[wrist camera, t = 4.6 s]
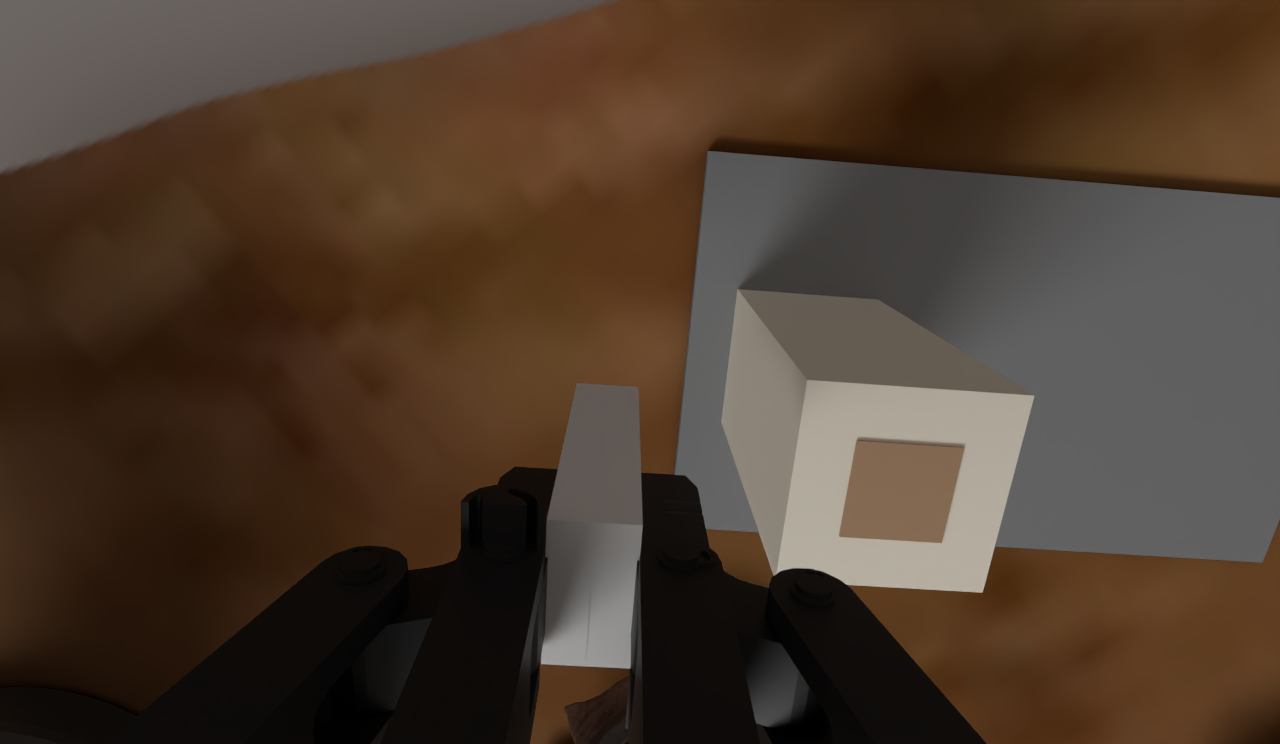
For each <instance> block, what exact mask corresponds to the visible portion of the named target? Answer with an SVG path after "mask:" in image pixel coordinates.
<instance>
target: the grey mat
mask: <svg viewBox="0 0 1280 744" xmlns="http://www.w3.org/2000/svg"><path fill="white" fill-rule="evenodd" d="M737 289H742V290H756V291H769V292H783V293H796V294H810V295H823V296H837V297H850V298H864V299H877V300H880V301H881V302H883V303H885V304H886V305H888V306H890V307H891V308H893V309H894V310H896V311H898V312H899V313H901V314H903V315H904V316H906V317H907V318H909V319H911V320H912V321H914V322H916V323H917V324H919V325H920V326H922V327H924V328H925V329H927V330H929V331H930V332H932V333H933V334H935V335H937V336H938V337H940V338H942V339H943V340H945V341H946V342H948V343H950V344H951V345H953V346H955V347H956V348H958V349H959V350H961V351H963V352H964V353H966V354H968V355H969V356H971V357H972V358H974V359H976V360H977V361H979V362H981V363H982V364H984V365H985V366H987V367H989V368H990V369H992V370H994V371H995V372H997V373H999V374H1000V375H1002V376H1003V377H1005V378H1007V379H1008V380H1010V381H1012V382H1013V383H1015V384H1016V385H1018V386H1020V387H1021V388H1023V389H1025V390H1026V391H1028V392H1029V393H1031V394H1033V395H1034V400H1033V404H1032V407H1031V411H1030V415H1029V419H1028V423H1027V426H1026V430H1025V434H1024V438H1023V442H1022V445H1021V449H1020V453H1019V457H1018V460H1017V464H1016V468H1015V472H1014V476H1013V479H1012V483H1011V487H1010V491H1009V495H1008V498H1007V502H1006V506H1005V510H1004V513H1003V517H1002V521H1001V525H1000V529H999V532H998V536H997V540H996V544H995V546H997V547H1013V548H1030V549H1047V550H1063V551H1080V552H1096V553H1113V554H1130V555H1146V556H1163V557H1179V558H1196V559H1213V560H1229V561H1246V562H1262V563H1263V560H1264V558H1265V555H1266V553H1267V550H1268V548H1269V545H1270V543H1271V540H1272V538H1273V535H1274V532H1275V530H1276V527H1277V525H1278V522H1279V520H1280V198H1275V197H1263V196H1251V195H1238V194H1226V193H1214V192H1202V191H1190V190H1178V189H1165V188H1153V187H1141V186H1129V185H1117V184H1105V183H1093V182H1080V181H1068V180H1056V179H1044V178H1032V177H1020V176H1007V175H995V174H983V173H971V172H959V171H947V170H935V169H922V168H910V167H898V166H886V165H874V164H862V163H849V162H837V161H825V160H813V159H801V158H789V157H777V156H764V155H752V154H740V153H728V152H716V151H707V159H706V169H705V178H704V188H703V198H702V208H701V217H700V227H699V237H698V247H697V257H696V266H695V276H694V286H693V296H692V305H691V315H690V325H689V335H688V344H687V354H686V364H685V374H684V383H683V393H682V403H681V413H680V422H679V432H678V442H677V452H676V461H675V471H674V475H685V476H686V477H687V478H688V479H689V480H690V481H691V482H692V483H693V484H694V485H695V486H696V487H697V488H698V492H699V497H700V504H701V507H702V515H703V517H704V522H705V528H706V529H714V530H731V531H748V532H759V531H758V528H757V525H756V522H755V520H754V517H753V514H752V511H751V508H750V505H749V502H748V499H747V496H746V493H745V490H744V487H743V484H742V481H741V479H740V476H739V473H738V470H737V467H736V464H735V461H734V458H733V455H732V452H731V449H730V446H729V443H728V440H727V437H726V435H725V432H724V429H723V426H722V423H721V420H722V412H723V404H724V395H725V387H726V379H727V371H728V363H729V354H730V346H731V338H732V330H733V321H734V313H735V305H736V297H737Z"/></svg>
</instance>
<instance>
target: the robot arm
mask: <svg viewBox="0 0 1280 744" xmlns="http://www.w3.org/2000/svg"><path fill="white" fill-rule="evenodd" d="M541 653H542V655H541ZM540 658H541V664H551V665H570V666H590V667H609V668H628V669H630V679H629V691H628V702H627V714H626V726H625V729H628V744H986V742H985V741H984V740H983V739H982V738H981V737H980V736H979V734H978V733H977V732H976V731H975V730H974V729H973V728H972V726H971V725H970V724H969V723H968V722H967V721H966V720H965V718H964V717H963V716H962V715H961V714H960V713H959V712H958V710H957V709H956V708H955V707H954V706H953V705H952V704H951V702H950V701H949V700H948V699H947V698H946V697H945V696H944V694H943V693H942V692H941V691H940V690H939V689H938V688H937V686H936V685H935V684H934V683H933V682H932V681H931V680H930V678H929V677H928V676H927V675H926V674H925V673H924V672H923V670H922V669H921V668H920V667H919V666H918V665H917V664H916V662H915V661H914V660H913V659H912V658H911V657H910V656H909V654H908V653H907V652H906V651H905V650H904V649H903V648H902V646H901V645H900V644H899V643H898V642H897V641H896V640H895V638H894V637H893V636H892V635H891V634H890V633H889V632H888V630H887V629H886V628H885V627H884V626H883V625H882V624H881V622H880V621H879V620H878V619H877V618H876V617H875V616H874V614H873V613H872V612H871V611H870V610H869V609H868V608H867V606H866V605H865V604H864V603H863V602H862V601H861V600H860V598H859V597H858V596H857V595H856V594H855V593H854V592H853V590H852V589H851V588H849V587H848V586H847V585H846V584H845V583H843V582H842V581H841V580H840V579H837V578H835V577H833V576H831V575H829V574H827V573H825V572H822V571H819V570H815V569H808V568H805V569H804V568H792V569H788V570H783V571H780V572H779V573H777V574H776V575H775V576H773V577H772V579H771V582H770V585H769V588H766V587H762V586H759V585H755V584H751V583H748V582H745V581H742V580H739V579H737V578H735V577H733V576H731V575H729V574H727V573H726V572H724V571H723V567H722V562H721V561H720V559H719V557H718V555H717V553H715V552H714V551H713V550H711V549H710V548H709V543H708V538H707V533H706V528H705V522H704V517H703V515H702V507H701V504H700V497H699V492H698V488H697V487H696V486H695V485H694V484H693V483H692V482H691V481H690V480H689V479H688V478H687V477H686V476H685V475H669V474H653V473H641V457H640V427H639V397H638V387H627V386H612V385H597V384H582V383H577V385H576V390H575V394H574V399H573V403H572V408H571V412H570V417H569V421H568V426H567V430H566V435H565V439H564V444H563V448H562V453H561V457H560V462H559V466H558V469H543V468H527V467H514V468H513V469H511V470H510V471H509V472H507V473H506V474H504V475H503V476H502V477H500V480H499V482H498V485H493V486H488V487H484V488H479V489H477V490H475V491H473V492H471V493H469V494H467V495H466V497H465V498H464V499H463V500H462V501H461V549H460V552H459V554H458V557H457V559H456V560H455V561H452V562H449V563H446V564H443V565H439V566H434V567H430V568H422V569H415V570H408V565H407V559H406V558H405V557H404V556H403V555H402V554H401V553H400V552H398V551H396V550H393V549H390V548H387V547H378V546H364V547H361V546H360V547H354V548H351V549H348V550H345V551H342V552H339V553H336V554H334V555H333V556H331V557H329V558H328V559H326V560H324V561H323V562H321V563H320V564H319V565H318V566H317V567H315V568H314V569H313V570H312V571H311V572H309V573H308V574H307V575H306V576H305V577H303V578H302V579H301V580H300V581H299V582H297V583H296V584H295V585H294V586H293V587H291V588H290V589H289V590H288V591H287V592H285V593H284V594H283V595H282V596H281V597H279V598H278V599H277V600H276V601H275V602H273V603H272V604H271V605H270V606H269V607H267V608H266V609H265V610H264V611H263V612H261V613H260V614H259V615H258V616H257V617H255V618H254V619H253V620H252V621H251V622H249V623H248V624H247V625H246V626H245V627H243V628H242V629H241V630H240V631H239V632H237V633H236V634H235V635H234V636H233V637H231V638H230V639H229V640H228V641H227V642H225V643H224V644H223V645H222V646H221V647H219V648H218V649H217V650H216V651H215V652H213V653H212V654H211V655H210V656H209V657H207V658H206V659H205V660H204V661H203V662H201V663H200V664H199V665H198V666H197V667H195V668H194V669H193V670H192V671H191V672H189V673H188V674H187V675H186V676H185V677H183V678H182V679H181V680H180V681H179V682H177V683H176V684H175V685H174V686H173V687H171V688H170V689H169V690H168V691H167V692H165V693H164V694H163V695H162V696H161V697H159V698H158V699H157V700H156V701H155V702H153V703H152V704H151V705H150V706H149V707H147V708H146V709H145V710H144V711H143V712H141V713H140V714H139V715H138V716H135V715H133V714H131V713H129V712H127V711H125V710H123V709H120V708H118V707H116V706H113V705H111V704H108V703H105V702H102V701H100V700H97V699H93V698H90V697H87V696H83V695H79V694H75V693H71V692H66V691H61V690H54V689H47V688H37V687H0V744H530V739H531V733H532V727H533V721H534V715H535V708H536V702H537V696H538V690H539V675H540Z"/></svg>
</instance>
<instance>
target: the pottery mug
mask: <svg viewBox="0 0 1280 744" xmlns="http://www.w3.org/2000/svg"><path fill="white" fill-rule="evenodd" d="M629 679H630V676H628V677H626V678H624V679H623V680H621V681H619V682H617V683H616V684H615V685H614V686H612V687H611V688H610V689H608V690H606V691H605V692H604V693H602V694H601V695H599V696H597V697H595V698H592V699H590V700H587V701H585V702H577V703H573V704H571V705H568V706H566V707H565V708H564V710H565V713H566V715H567V717H568V722H569V726H570V731H571V734H572V736H573V739H574V743H575V744H625V743H626V742H627V741H628V729H625V726H626V714H627V702H628V691H629Z"/></svg>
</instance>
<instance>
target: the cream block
mask: <svg viewBox="0 0 1280 744" xmlns="http://www.w3.org/2000/svg"><path fill="white" fill-rule="evenodd" d="M1033 400H1034V395H1033V394H1031V393H1029V392H1028V391H1026V390H1025V389H1023V388H1021V387H1020V386H1018V385H1016V384H1015V383H1013V382H1012V381H1010V380H1008V379H1007V378H1005V377H1003V376H1002V375H1000V374H999V373H997V372H995V371H994V370H992V369H990V368H989V367H987V366H985V365H984V364H982V363H981V362H979V361H977V360H976V359H974V358H972V357H971V356H969V355H968V354H966V353H964V352H963V351H961V350H959V349H958V348H956V347H955V346H953V345H951V344H950V343H948V342H946V341H945V340H943V339H942V338H940V337H938V336H937V335H935V334H933V333H932V332H930V331H929V330H927V329H925V328H924V327H922V326H920V325H919V324H917V323H916V322H914V321H912V320H911V319H909V318H907V317H906V316H904V315H903V314H901V313H899V312H898V311H896V310H894V309H893V308H891V307H890V306H888V305H886V304H885V303H883V302H881V301H880V300H877V299H864V298H850V297H837V296H823V295H810V294H796V293H783V292H769V291H756V290H742V289H737V297H736V305H735V313H734V321H733V330H732V338H731V346H730V354H729V363H728V371H727V379H726V387H725V395H724V404H723V412H722V420H721V423H722V426H723V429H724V432H725V435H726V437H727V440H728V443H729V446H730V449H731V452H732V455H733V458H734V461H735V464H736V467H737V470H738V473H739V476H740V479H741V481H742V484H743V487H744V490H745V493H746V496H747V499H748V502H749V505H750V508H751V511H752V514H753V517H754V520H755V522H756V525H757V528H758V531H759V534H760V537H761V540H762V543H763V546H764V549H765V552H766V555H767V558H768V561H769V564H770V566H771V569H772V572H773V575H774V576H775V575H776V574H777V573H779V572H780V571H783V570H788V569H792V568H804V569H805V568H808V569H815V570H819V571H822V572H825V573H827V574H829V575H831V576H833V577H835V578H837V579H840V580H841V581H842V582H843V583H845V584H846V585H860V586H877V587H895V588H912V589H930V590H947V591H965V592H982V593H983V589H984V585H985V582H986V578H987V574H988V570H989V566H990V563H991V559H992V555H993V551H994V548H995V544H996V540H997V536H998V532H999V529H1000V525H1001V521H1002V517H1003V513H1004V510H1005V506H1006V502H1007V498H1008V495H1009V491H1010V487H1011V483H1012V479H1013V476H1014V472H1015V468H1016V464H1017V460H1018V457H1019V453H1020V449H1021V445H1022V442H1023V438H1024V434H1025V430H1026V426H1027V423H1028V419H1029V415H1030V411H1031V407H1032V404H1033Z"/></svg>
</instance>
